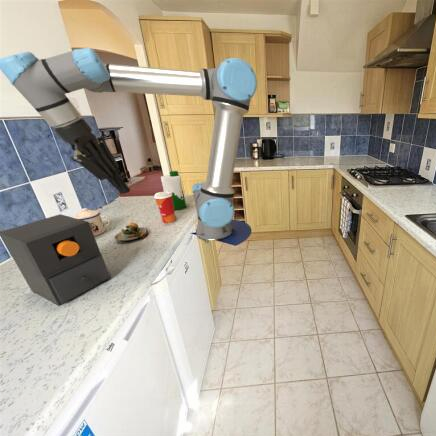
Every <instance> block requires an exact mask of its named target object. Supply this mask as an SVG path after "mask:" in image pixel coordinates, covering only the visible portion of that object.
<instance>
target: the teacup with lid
mask: <svg viewBox="0 0 436 436" xmlns="http://www.w3.org/2000/svg"><path fill="white" fill-rule="evenodd" d="M72 218H76V219H80V220H84V221H87V222H89V225H90V227H91V230H92V232H93V235H94V237H96V236H99V235H102V234H103V233H104V232H106V228H105V227H107V226H109V225H110V223H111V218H110V217H109V216H108V215H101V211H99V210H94V209H89V208H88V207H84V208H81V210H80V211H79V212H78V213H76V214H74V216H73V217H72ZM103 219H106V220H107V223H106V224H104V221H103Z"/></svg>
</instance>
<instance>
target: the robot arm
mask: <svg viewBox="0 0 436 436" xmlns="http://www.w3.org/2000/svg"><path fill="white" fill-rule="evenodd" d="M0 71H1V73H2V74H3V75H4V76H5V77H6V78H7V79H8V81H9V82H10V84H11V86H13V87H14V88H15V89H16V90H17V91H18V92H19V93H20V94H21V96H22V97H23V98H24V99H25V100H26V101H27V102H28V103H29V104H30V105H31V106H32V107H33V109H34V110H35V111H36V112H37V114H38V115H40V116H41V118H42V119H43V120H44V121H45V123H47V124H48V126H49V127H51V128H53V131H54V133H56V135H57V136H58V137H59V138H60V139H61V140H62V141H63V142H65V143H67V144H69V146H70V149H71V150H72V151H74V152H73V153H74V154H73V155H72V156H70V159H71V160H72V162H75V163H77V164H79V165H81V166H82V167H83V168H84V169H85V170H87V171H88V172H89V173H91V174H92V175H93V176H94V177H96V178H97V179H98V180H99V181H105V180H106V181H108V182H109V184H110V185H111V186H112V187H113V188H115V190H117V192H118V193H119V194H120V195H123V194H124V195H125V194H128V193H130V191H131V189H130V187H129V186H128V185H127V184H126V182H125V181H124V179H123V178H122V176H121V175H120V174H119V173H121V170H120V166H119V164H118V161H116V159H115V156H113V153H112V152H111V150H110V148H109V146H108V144H107V141H106V139H105V137H104V136H99V137H98V136H96V135H95V134H93V133H92V132H93V128H92V127H91V126H90V125H89V123H88V122H87V121H86V119H85V118H83V117H82V114H81V113H80V112H79V110H78V109H77V107H76V106H75V105H74V104H73V103H72V101H71V100H70V99H69V98H68V96H67V95H66V94H71V93H72V92H73V93H74V92H76V91H80V90H83V89H86V90H88V91H89V92H92V93H99V94H100V93H101V94H102V93H123V94H124V93H127V94H144V95H145V94H146V95H164V96H165V95H166V96H183V97H184V96H186V97H200V98H202V99H203V100H204V101H211V103H212V105H213V107H214V108H215V115H214V122H213V130H212V136H211V143H210V152H209V159H208V165H207V172H206V173H207V174H206V180H205V181H202V182H197V183H195V184H193V185H192V195H193V200H194V205H195V210H196V215H197V226H196V229H195V232H196V233H197V235H196V237H197V239H199V240H201V241H206V242H208V241H209V242H210V241H216V242H220V240H223V239H226V238H228V237H229V236H231V235H232V233H233V232H234V233H236V231H235V230H234V229H233V227H232V225H231V223H230V222H231V221H232V219H233V220H234V217H235V213H236V212H235V211H236V210H235V206H234V199H235V189H234V188H233V187H232V183H233V178H234V173H235V167H236V161H237V154H238V148H239V143H240V142H239V141H240V136H241V131H242V124H243V119H244V116H245V115H247V114H248V113H249V110H250V106H251V105H250V104H251V99H252V98H253V97H254V95H255V94H256V91H257V88H258V79H257V76H256V72H255V71H254V69H253V68H252V66H251V65H250V64H249V63H248V62H247V61H246V60H244V59H243V58H239V57H230V58H226V59H224V60H222V62H220V64H219V65H218V66H217V67H214V68H200V69H199V70H197V71H196V70H184V69H173V68H172V69H171V68H160V67H149V66H139V65H127V64H126V65H125V64H115V63H105V62H104V61H102V59H101V57H100V55H98V53H97V52H96V51H95V50H94V49H93V48H92V47H82V48H75V49H73V50H71V51H67V52H63V53H61V54H57V55H54V56H50V57H46V58H41V59H39V58H38V57H37V56H35V54H34V53H32V52H31V51H24V52H20V53H17V54H12V55H8V56H5V57H1V58H0Z"/></svg>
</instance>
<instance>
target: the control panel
mask: <svg viewBox="0 0 436 436" xmlns="http://www.w3.org/2000/svg"><path fill="white" fill-rule="evenodd" d="M69 216H70V215H65V214H61V213H60V214H56V215H53V216H49V217H46V218H43V219H40V220H36V221H32V222H29V223H26V224H21V225H19V226H15V227H12V228H8V229H6V230H1V231H0V238H1V240H2V242H3V243H4V245H5V247H6V248H7V250H8V252H9V254H10V256H11V257H12V259H13V261H14V263H15V264H16V265H17V264H18V265H20V266H22V267H24V268H26V269H28V270H30V271H32V272H34V273H36V274H38V275H40V276H42V277H45V276H47V275H49V274H51V273H54V272H56V271H58V270H60V269H63V268H65V267H67V266H69V265H71V264H74V263H76V262H78V261H80V260H83V259H85V258H87V257H89V256H92V255H94V254H96V253H98V252H101V250H100V248H99V245H98V243H97V240H96V238H95V237H96V236H94V235H93V232H92V230H91V227H90V225H89V222H87V221H84V220H80V219H76V218H73V217H72V216H70V217H69ZM65 240H70V241H73V242H76V243H77V244H78V245H79V251H78V252H77V253H76V254H75V255H73V256H64V255H62V254H59V253H58V252H57V249H56V248H57V245H58V244H59V243H60V242H62V241H65Z"/></svg>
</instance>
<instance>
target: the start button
mask: <svg viewBox="0 0 436 436" xmlns="http://www.w3.org/2000/svg"><path fill="white" fill-rule="evenodd" d="M56 249H57V252H58V253H59V254H62V255H64V256H73V255H75V254H76V253H77V252H78V251H79V245H78V244H77V243H76V242H73V241H70V240H65V241H62V242H60V243H59V244H58V245H57V248H56Z"/></svg>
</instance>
